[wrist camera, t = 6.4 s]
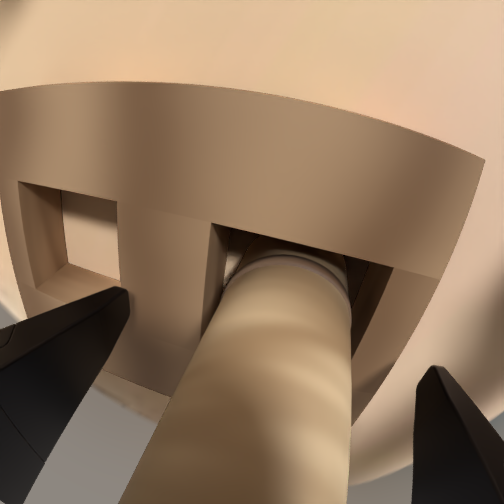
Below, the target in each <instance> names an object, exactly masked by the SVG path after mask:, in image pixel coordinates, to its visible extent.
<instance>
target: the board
mask: <svg viewBox="0 0 504 504" xmlns="http://www.w3.org/2000/svg"><path fill="white" fill-rule="evenodd" d="M484 163H485V160H484V159H482V158H480V157H478V156H476V155H474V154H471V153H469V152H467V151H465V150H462V149H460V148H458V147H455V146H453V145H451V144H448V143H446V142H443V141H440V140H438V139H435V138H432V137H430V136H427V135H424V134H421V133H419V132H416V131H413V130H410V129H407V128H404V127H401V126H398V125H395V124H392V123H388V122H385V121H382V120H379V119H375V118H372V117H368V116H365V115H361V114H358V113H354V112H350V111H346V110H342V109H338V108H334V107H330V106H326V105H322V104H317V103H313V102H308V101H303V100H298V99H293V98H288V97H283V96H277V95H272V94H266V93H259V92H253V91H246V90H239V89H231V88H223V87H214V86H204V85H193V84H180V83H162V82H81V83H65V84H52V85H42V86H33V87H25V88H18V89H12V90H6V91H0V199H1V206H2V213H3V220H4V225H5V231H6V236H7V242H8V246H9V251H10V256H11V260H12V264H13V269H14V273H15V277H16V280H17V284H18V288H19V291H20V295H21V298H22V302H23V305H24V308H25V311H26V314H27V317H28V318H31V317H34V316H36V315H39V314H41V313H44V312H47V311H49V310H52V309H54V308H57V307H60V306H62V305H65V304H68V303H70V302H73V301H75V300H78V299H81V298H83V297H86V296H89V295H91V294H94V293H97V292H99V291H102V290H105V289H107V288H110V287H113V286H119V287H122V288H125V289H126V290H128V292H129V302H130V316H129V319H128V321H127V323H126V325H125V327H124V329H123V331H122V333H121V335H120V337H119V339H118V341H117V343H116V345H115V347H114V349H113V351H112V352H111V354H110V356H109V358H108V360H107V361H106V363H105V365H104V366H103V368H102V369H103V370H105V371H107V372H110V373H112V374H114V375H116V376H119V377H121V378H123V379H126V380H128V381H131V382H133V383H136V384H138V385H141V386H143V387H146V388H148V389H151V390H153V391H156V392H159V393H161V394H164V395H167V396H170V397H172V396H173V394H174V392H175V390H176V388H177V386H178V384H179V382H180V380H181V378H182V376H183V374H184V372H185V370H186V368H187V366H188V364H189V362H190V360H191V359H192V357H193V355H194V353H195V351H196V349H197V347H198V345H199V343H200V341H201V339H202V337H203V335H204V333H205V331H206V329H207V327H208V325H209V323H210V321H211V319H212V317H213V315H214V314H215V312H216V310H217V308H218V306H219V304H220V300H221V296H222V288H223V281H224V273H225V266H226V258H227V251H228V244H229V237H230V230H231V227H232V228H237V229H241V230H245V231H249V232H253V233H258V234H262V235H266V236H270V237H274V238H278V239H283V240H287V241H291V242H295V243H299V244H303V245H307V246H311V247H315V248H319V249H323V250H327V251H331V252H335V253H339V254H343V255H347V256H351V257H355V258H359V259H363V260H367V261H370V264H369V266H368V269H367V272H366V274H365V277H364V279H363V282H362V285H361V287H360V290H359V292H358V295H357V297H356V300H355V302H354V305H353V307H352V310H351V329H350V335H351V379H352V398H351V426H352V425H353V424H354V422H355V421H356V420H357V418H358V417H359V416H360V414H361V413H362V412H363V410H364V409H365V407H366V406H367V405H368V403H369V402H370V400H371V399H372V398H373V396H374V395H375V393H376V392H377V390H378V389H379V387H380V386H381V384H382V383H383V381H384V380H385V378H386V377H387V375H388V374H389V372H390V370H391V369H392V367H393V366H394V364H395V362H396V361H397V359H398V358H399V356H400V354H401V353H402V351H403V349H404V348H405V346H406V344H407V342H408V341H409V339H410V337H411V336H412V334H413V332H414V330H415V328H416V327H417V325H418V323H419V321H420V319H421V317H422V316H423V314H424V312H425V310H426V308H427V306H428V304H429V302H430V300H431V298H432V296H433V294H434V292H435V290H436V288H437V286H438V284H439V282H440V280H441V278H442V275H443V273H444V271H445V269H446V267H447V264H448V262H449V260H450V258H451V255H452V253H453V251H454V248H455V246H456V243H457V241H458V238H459V236H460V233H461V231H462V228H463V226H464V223H465V220H466V218H467V215H468V212H469V210H470V207H471V204H472V201H473V198H474V195H475V192H476V189H477V186H478V183H479V180H480V176H481V173H482V170H483V166H484ZM60 189H61V190H66V191H71V192H76V193H80V194H85V195H90V196H94V197H99V198H104V199H108V200H113V201H117V230H118V252H119V268H120V281H118V280H115V279H112V278H109V277H106V276H103V275H100V274H98V273H95V272H92V271H89V270H86V269H83V268H81V267H78V266H75V265H72V264H70V263H68V260H67V253H66V245H65V237H64V229H63V219H62V208H61V195H60Z"/></svg>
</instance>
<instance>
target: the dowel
mask: <svg viewBox="0 0 504 504" xmlns="http://www.w3.org/2000/svg"><path fill="white" fill-rule="evenodd" d="M350 329H351V304H350V299H349V295H348V281H347V269H346V263H345V260H344V257H343V255H342V254H339V253H335V252H331V251H327V250H323V249H319V248H315V247H311V246H307V245H303V244H299V243H295V242H291V241H287V240H283V239H278V238H274V237H270V236H266V235H262V234H261V235H260V236H259V237H257V238H256V239H255V240H254V241H253V242H252V244H251V245H250V246H249V248H248V250H247V251H246V253H245V255H244V257H243V259H242V261H241V263H240V265H239V267H238V269H237V271H236V273H235V274H234V275H233V276H232V278H231V279H230V281H229V283H228V284H227V286H226V288H225V290H224V292H223V295H222V297H221V300H220V304H219V306H218V308H217V310H216V312H215V314H214V315H213V317H212V319H211V321H210V323H209V325H208V327H207V329H206V331H205V333H204V335H203V337H202V339H201V341H200V343H199V345H198V347H197V349H196V351H195V353H194V355H193V357H192V359H191V360H190V362H189V364H188V366H187V368H186V370H185V372H184V374H183V376H182V378H181V380H180V382H179V384H178V386H177V388H176V390H175V392H174V394H173V396H172V398H171V400H170V402H169V404H168V406H167V408H166V410H165V412H164V414H163V416H162V418H161V420H160V421H159V423H158V425H157V427H156V430H155V431H154V433H153V435H152V437H151V440H150V442H149V443H148V445H147V447H146V449H145V451H144V453H143V455H142V457H141V459H140V461H139V463H138V465H137V467H136V469H135V471H134V473H133V475H132V477H131V479H130V481H129V483H128V485H127V487H126V489H125V491H124V493H123V495H122V497H121V499H120V501H119V503H118V504H346V501H347V490H348V477H349V461H350V441H351V398H352V379H351V335H350Z"/></svg>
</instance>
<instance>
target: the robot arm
mask: <svg viewBox="0 0 504 504" xmlns="http://www.w3.org/2000/svg"><path fill="white" fill-rule="evenodd" d="M129 316H130V302H129V292H128V290H126V289H125V288H122V287H119V286H113V287H110V288H107V289H105V290H102V291H99V292H97V293H94V294H91V295H89V296H86V297H83V298H81V299H78V300H75V301H73V302H70V303H68V304H65V305H62V306H60V307H57V308H54V309H52V310H49V311H47V312H44V313H41V314H39V315H36V316H34V317H31V318H28V319H26V320H23V321H21V322H18V323H16V324H13V325H10V326H8V327H5V328H3V329H0V500H1V501H2V502H3V503H5V504H23V503H24V501H25V499H26V497H27V495H28V493H29V492H30V490H31V488H32V486H33V484H34V482H35V480H36V479H37V477H38V475H39V473H40V471H41V470H42V468H43V466H44V464H45V461H46V460H47V458H48V457H49V455H50V453H51V451H52V450H53V448H54V446H55V444H56V443H57V441H58V439H59V437H60V436H61V434H62V432H63V431H64V429H65V427H66V426H67V424H68V422H69V421H70V419H71V417H72V416H73V414H74V412H75V411H76V409H77V407H78V406H79V404H80V402H81V401H82V399H83V398H84V396H85V394H86V393H87V391H88V390H89V388H90V387H91V385H92V383H93V382H94V380H95V379H96V377H97V375H98V374H99V372H100V371H101V369H102V368H103V366H104V365H105V363H106V361H107V360H108V358H109V356H110V354H111V352H112V351H113V349H114V347H115V345H116V343H117V341H118V339H119V337H120V335H121V333H122V331H123V329H124V327H125V325H126V323H127V321H128V319H129ZM411 504H504V441H503V440H502V438H501V437H500V436H499V434H498V433H497V432H496V430H495V429H494V428H493V426H492V425H491V424H490V423H489V421H488V420H487V419H486V417H485V416H484V415H483V414H482V412H481V411H480V410H479V409H478V407H477V406H476V405H475V404H474V402H473V401H472V400H471V399H470V397H469V396H468V395H467V394H466V393H465V391H464V390H463V389H462V388H461V386H460V385H459V384H458V383H457V382H456V380H455V379H454V378H453V377H452V376H451V375H450V373H449V372H448V371H447V370H446V369H445V368H444V367H442V366H436V365H432V366H431V367H430V368H429V369H428V370H427V372H426V373H425V375H424V376H423V377H422V379H421V380H420V381H419V383H418V385H417V389H416V403H415V418H414V432H413V486H412V502H411Z"/></svg>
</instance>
